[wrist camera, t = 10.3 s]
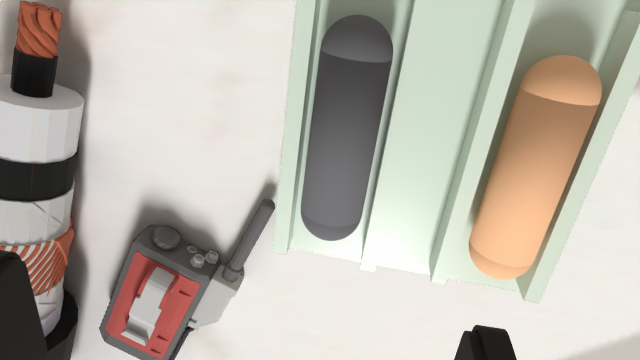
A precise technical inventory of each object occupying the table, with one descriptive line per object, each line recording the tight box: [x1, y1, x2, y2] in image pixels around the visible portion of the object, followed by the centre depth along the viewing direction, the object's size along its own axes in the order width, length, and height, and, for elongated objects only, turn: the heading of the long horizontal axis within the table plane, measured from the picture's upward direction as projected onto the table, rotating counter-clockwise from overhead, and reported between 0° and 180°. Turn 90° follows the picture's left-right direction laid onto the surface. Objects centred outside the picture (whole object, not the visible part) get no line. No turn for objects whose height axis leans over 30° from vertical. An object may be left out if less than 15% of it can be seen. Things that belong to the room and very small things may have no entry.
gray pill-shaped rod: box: [301, 15, 393, 241], centre depth 27 cm, size 14×4×4 cm, turn 173°
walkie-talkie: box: [99, 199, 275, 360], centre depth 36 cm, size 9×4×20 cm
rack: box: [272, 0, 640, 303], centre depth 28 cm, size 20×18×3 cm
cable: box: [0, 1, 84, 360], centre depth 33 cm, size 10×34×10 cm, turn 161°
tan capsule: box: [469, 55, 602, 280], centre depth 27 cm, size 14×4×4 cm, turn 173°
